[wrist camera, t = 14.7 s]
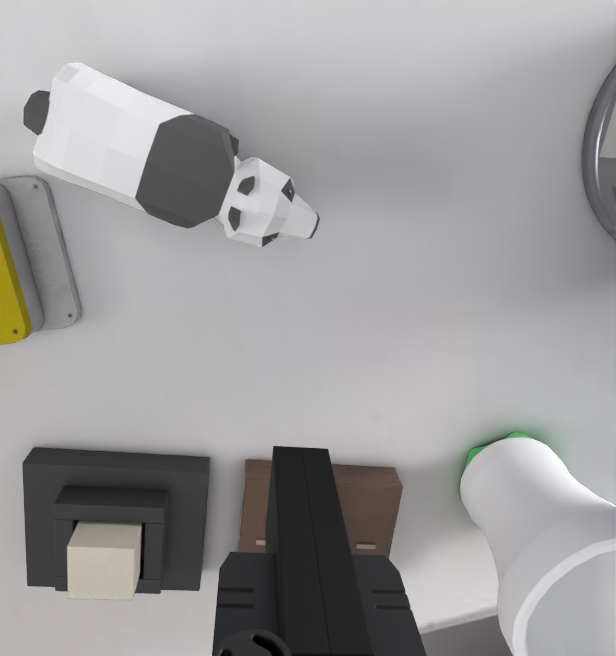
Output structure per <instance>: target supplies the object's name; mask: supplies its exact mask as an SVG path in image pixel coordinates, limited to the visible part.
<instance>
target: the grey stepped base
mask: <svg viewBox="0 0 616 656" xmlns="http://www.w3.org/2000/svg"><path fill="white" fill-rule="evenodd" d="M209 470H210V458H209V457H192V456H174V455H156V454H138V453H121V452H103V451H85V450H67V449H50V448H33V449H32V451H31V452H30V453H29V455H28V456H27V458H26V459H25V460H24V462H23V487H24V512H25V538H26V563H27V586H43V587H55V590H56V591H68V574H67V546H68V544H69V542H70V539H71V537H72V535H73V533H74V531H75V528H76V526H77V524H78V522H79V520H84V521H108V522H132V523H142V537H141V565H140V575H139V578H138V582H137V586H136V590H135V593H153V594H160V593H161V590H190V591H199V590H200V581H201V573H202V561H203V548H204V535H205V522H206V509H207V496H208V483H209Z"/></svg>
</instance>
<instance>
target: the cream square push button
mask: <svg viewBox="0 0 616 656" xmlns="http://www.w3.org/2000/svg"><path fill="white" fill-rule="evenodd" d="M141 537H142V523H132V522H108V521H84V520H79V522H78V524H77V526H76V528H75V531H74V533H73V535H72V537H71V539H70V542H69V544H68V546H67V574H68V599H98V600H133V598H134V594H135V590H136V586H137V582H138V578H139V575H140V565H141Z"/></svg>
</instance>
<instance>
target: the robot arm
mask: <svg viewBox="0 0 616 656" xmlns="http://www.w3.org/2000/svg"><path fill="white" fill-rule="evenodd" d="M582 166H583V178H584V184H585V189H586V193H587V196H588V199H589V202H590V205H591V207H592V209H593V211H594V213H595V215H596V217H597V218H598V220H599V222H600V223H601V225H602V226H603V227H604V228H605V229H606V231H607V232H608V233H609V234H610V235H611V236H612V237H613V238H614V239H615V240H616V66H615V68H614V69H613V70H612V72H611V73H610V75H609V76H608V78H607V80H606V81H605V83H604V85H603V86H602V88H601V90H600V92H599V94H598V96H597V98H596V100H595V103H594V106H593V108H592V111H591V113H590V117H589V120H588V123H587V127H586V132H585V137H584V144H583V157H582ZM212 656H426V653H425V649H424V646H423V644H422V640H421V637H420V634H419V631H418V628H417V625H416V622H415V619H414V616H413V613H412V610H410V604H409V600H408V597H407V594H405V588H404V585H403V582H402V579H401V576H400V573H399V571H398V570H397V569H396V568H395V566H394V565H393V564H392V563H391V562H390V561H389V559H388V558H387V557H386V556H385V555H360V554H352V553H351V549H350V544H349V540H348V536H347V531H346V527H345V522H344V518H343V513H342V509H341V505H340V500H339V496H338V491H337V487H336V483H335V478H334V474H333V469H332V465H331V461H330V456H329V452H328V449H319V448H300V447H282V446H274V447H273V457H272V466H271V476H270V486H269V496H268V506H267V516H266V525H265V553H247V552H230V554H229V555H228V557H227V558H226V560H225V561H224V563H223V564H222V566H221V567H220V571H219V583H218V594H217V606H216V617H215V629H214V640H213V652H212Z"/></svg>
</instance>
